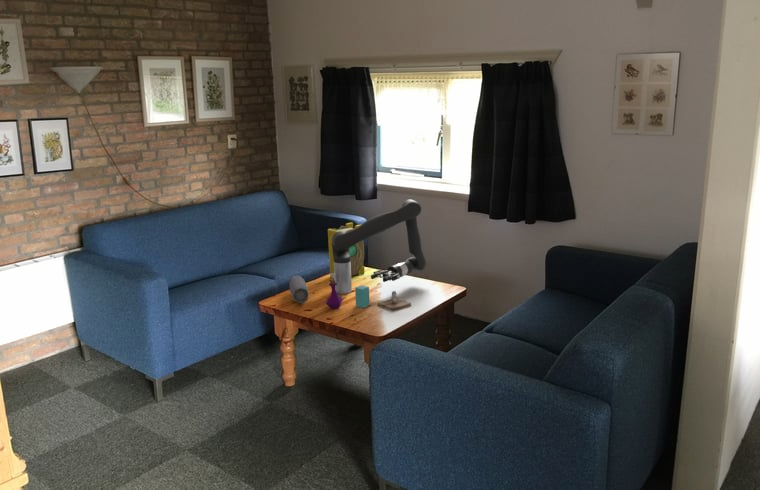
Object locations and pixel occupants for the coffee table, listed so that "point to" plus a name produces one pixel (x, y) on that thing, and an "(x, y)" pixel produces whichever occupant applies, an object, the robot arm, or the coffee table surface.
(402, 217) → the robot arm
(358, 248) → the decorative book
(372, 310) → the coffee table surface
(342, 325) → the coffee table surface
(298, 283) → the bluetooth speaker
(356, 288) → the tall teal pillar
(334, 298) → the purple potion bottle
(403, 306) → the walnut base plate
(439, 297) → the coffee table surface
